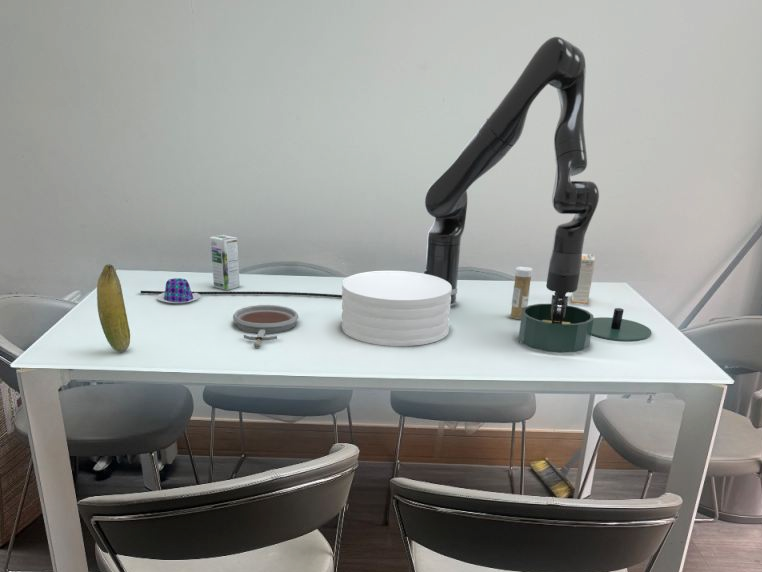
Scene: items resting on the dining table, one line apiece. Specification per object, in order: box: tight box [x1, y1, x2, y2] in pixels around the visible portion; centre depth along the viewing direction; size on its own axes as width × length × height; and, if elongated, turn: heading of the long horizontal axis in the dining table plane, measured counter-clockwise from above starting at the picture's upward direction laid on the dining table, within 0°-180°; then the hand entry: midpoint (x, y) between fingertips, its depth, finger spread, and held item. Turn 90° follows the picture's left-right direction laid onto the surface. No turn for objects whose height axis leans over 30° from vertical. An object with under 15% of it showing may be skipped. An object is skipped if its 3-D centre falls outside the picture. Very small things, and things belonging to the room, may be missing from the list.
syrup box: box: [209, 234, 241, 291], centre depth 225 cm, size 6×6×14 cm
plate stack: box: [341, 270, 452, 347], centre depth 197 cm, size 28×28×12 cm
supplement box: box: [570, 253, 596, 305], centre depth 225 cm, size 8×5×13 cm, turn 168°
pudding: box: [156, 277, 201, 304], centre depth 215 cm, size 12×12×5 cm
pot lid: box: [591, 307, 652, 342], centre depth 202 cm, size 19×19×6 cm
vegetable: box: [96, 263, 131, 353], centre depth 174 cm, size 6×6×20 cm
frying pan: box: [232, 304, 299, 349], centre depth 195 cm, size 17×3×28 cm
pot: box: [518, 303, 595, 354], centre depth 193 cm, size 18×18×8 cm
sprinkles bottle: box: [510, 266, 533, 320], centre depth 209 cm, size 5×5×13 cm
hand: (553, 337), depth 194 cm, fingers closed on butter, 4 cm apart
